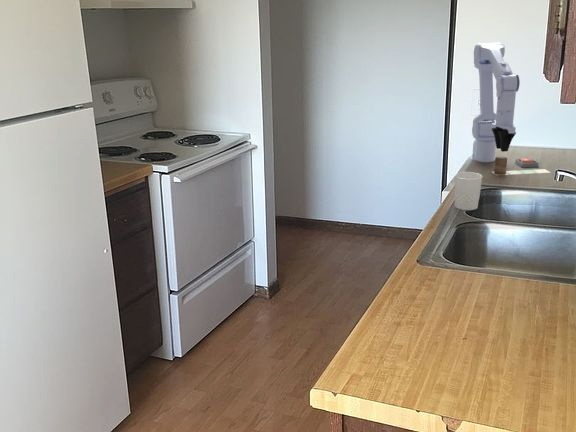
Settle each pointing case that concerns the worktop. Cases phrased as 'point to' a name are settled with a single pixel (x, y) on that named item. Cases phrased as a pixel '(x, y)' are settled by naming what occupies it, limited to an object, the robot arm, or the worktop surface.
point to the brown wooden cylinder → (500, 165)
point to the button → (527, 160)
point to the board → (525, 172)
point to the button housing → (518, 162)
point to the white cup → (467, 190)
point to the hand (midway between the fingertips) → (502, 149)
